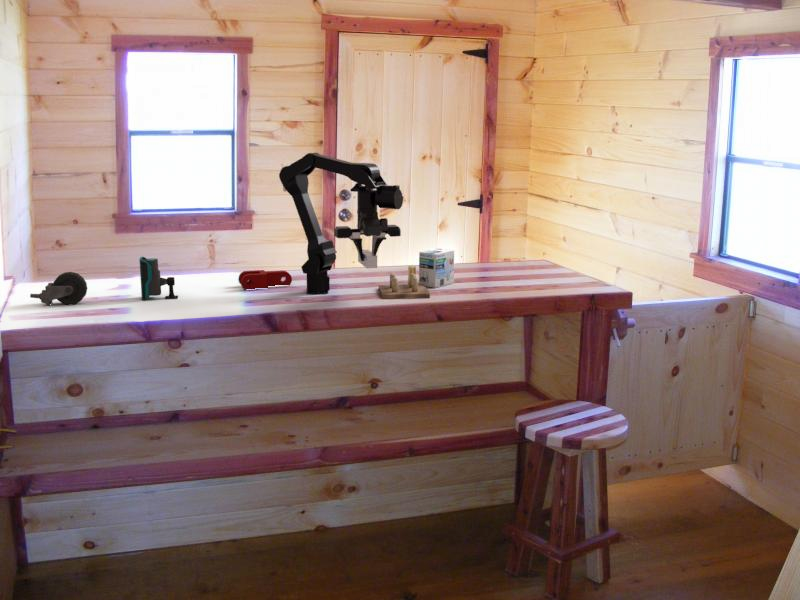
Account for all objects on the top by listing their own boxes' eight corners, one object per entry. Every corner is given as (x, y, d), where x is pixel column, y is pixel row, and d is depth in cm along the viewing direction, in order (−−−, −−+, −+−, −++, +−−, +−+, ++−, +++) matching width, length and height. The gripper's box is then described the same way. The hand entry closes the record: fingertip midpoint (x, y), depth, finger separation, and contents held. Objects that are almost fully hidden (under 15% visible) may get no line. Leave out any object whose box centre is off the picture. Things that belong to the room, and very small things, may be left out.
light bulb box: (435, 288, 283) (435, 254, 281) (417, 285, 287) (418, 252, 285) (454, 283, 291) (455, 250, 289) (437, 280, 295) (437, 247, 293)
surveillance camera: (175, 258, 262) (139, 259, 260) (177, 299, 264) (141, 300, 263) (176, 255, 267) (141, 256, 265) (178, 295, 270) (143, 296, 268)
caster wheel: (87, 304, 262) (32, 301, 259) (88, 271, 260) (33, 267, 257) (84, 309, 256) (28, 305, 253) (85, 275, 254) (29, 271, 251)
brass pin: (408, 286, 286) (408, 267, 285) (407, 284, 288) (407, 266, 287) (416, 286, 286) (416, 267, 285) (415, 284, 289) (415, 265, 287)
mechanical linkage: (241, 291, 277) (241, 275, 276) (238, 286, 284) (238, 271, 283) (293, 288, 282) (293, 272, 281) (289, 284, 288) (289, 268, 287)
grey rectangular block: (377, 267, 261) (377, 255, 260) (367, 268, 260) (366, 256, 260) (367, 261, 272) (367, 249, 272) (358, 261, 272) (358, 249, 271)
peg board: (382, 298, 268) (382, 281, 266) (378, 288, 281) (378, 272, 280) (429, 297, 269) (430, 280, 268) (423, 288, 283) (423, 271, 282)
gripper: (341, 211, 253) (341, 266, 256) (405, 209, 258) (405, 264, 261) (333, 207, 264) (334, 260, 267) (395, 205, 268) (395, 257, 272)
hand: (367, 260), depth 266 cm, fingers closed on grey rectangular block, 3 cm apart
